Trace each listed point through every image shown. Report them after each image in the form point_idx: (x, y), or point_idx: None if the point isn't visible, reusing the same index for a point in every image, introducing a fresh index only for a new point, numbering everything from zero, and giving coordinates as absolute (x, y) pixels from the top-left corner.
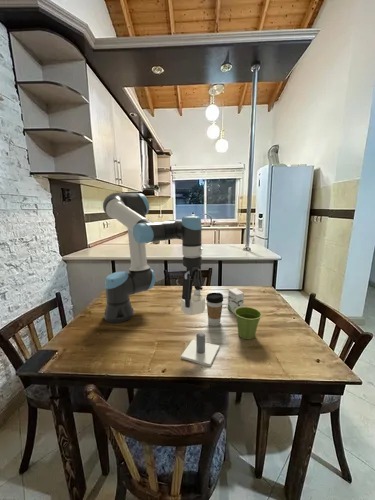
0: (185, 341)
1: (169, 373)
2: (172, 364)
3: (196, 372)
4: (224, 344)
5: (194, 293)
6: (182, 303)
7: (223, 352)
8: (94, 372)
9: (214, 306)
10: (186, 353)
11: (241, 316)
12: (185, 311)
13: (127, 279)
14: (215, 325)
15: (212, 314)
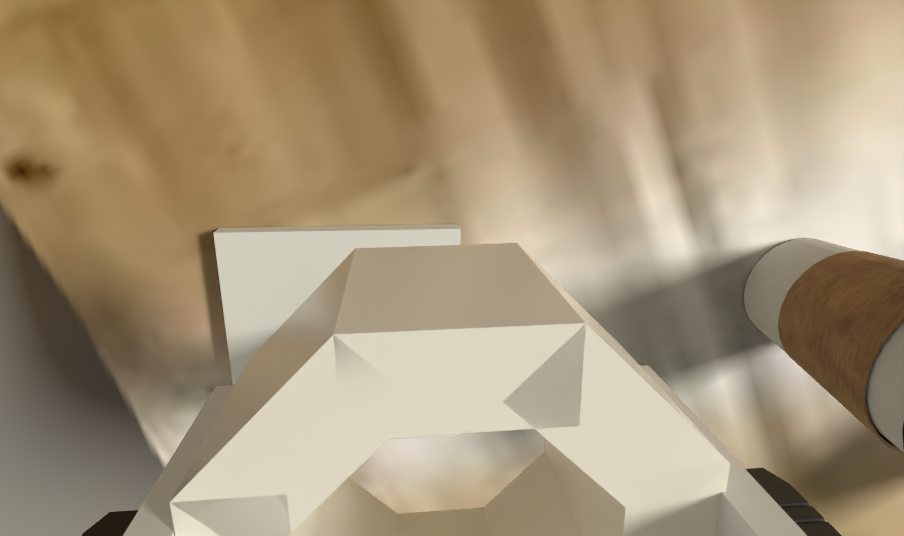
0: (435, 167)
1: (30, 223)
2: (123, 199)
3: (148, 379)
4: (512, 443)
5: (725, 514)
6: (286, 354)
7: (421, 461)
8: None
9: (877, 406)
10: (263, 258)
11: None
12: (203, 415)
13: None
14: (747, 313)
15: (807, 337)
